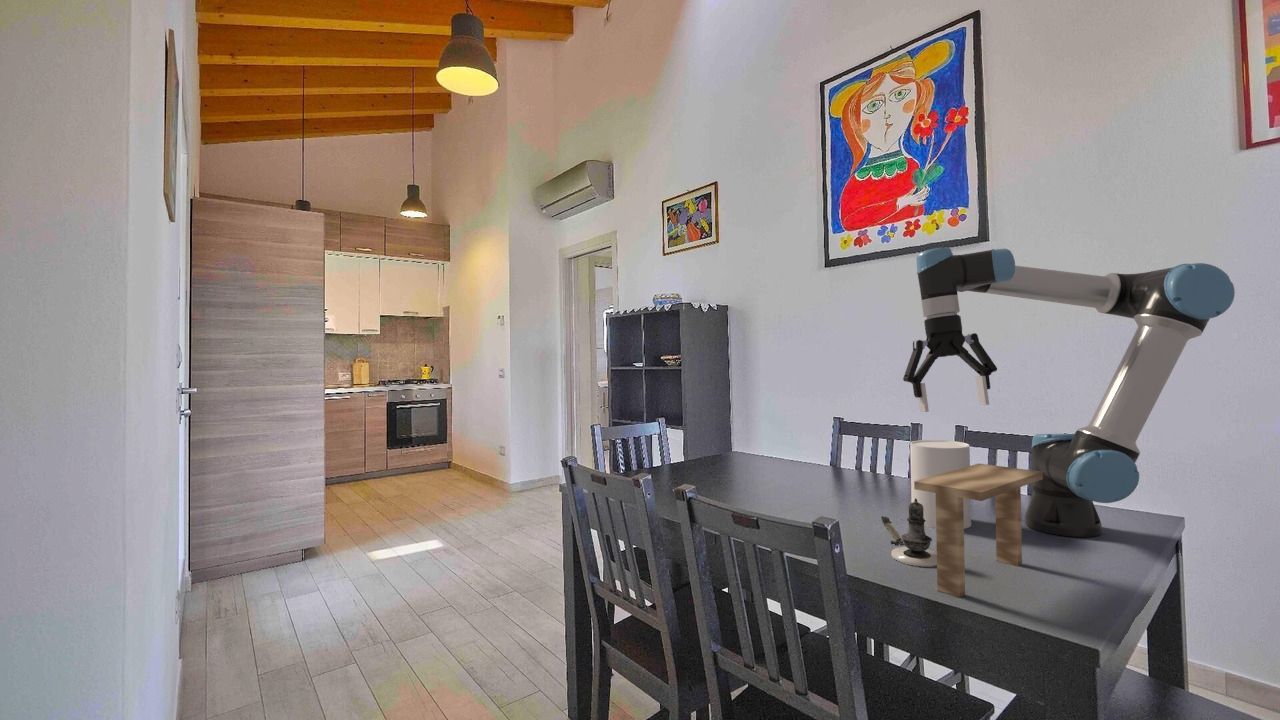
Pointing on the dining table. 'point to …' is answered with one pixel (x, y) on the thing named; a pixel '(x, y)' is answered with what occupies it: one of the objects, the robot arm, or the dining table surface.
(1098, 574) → the dining table surface
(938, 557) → the wooden stool
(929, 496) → the canister
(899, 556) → the coaster
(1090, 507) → the robot arm
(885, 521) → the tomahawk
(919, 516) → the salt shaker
